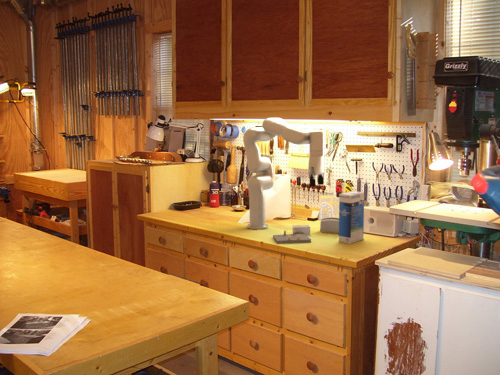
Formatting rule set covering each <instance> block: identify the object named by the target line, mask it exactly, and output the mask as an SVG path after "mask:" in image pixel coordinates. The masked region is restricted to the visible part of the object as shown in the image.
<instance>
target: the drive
mask: <svg viewBox="0 0 500 375" xmlns="http://www.w3.org/2000/svg"><path fill="white" fill-rule="evenodd" d="M293 230H295V234H306V235H307V236H311V226H310V225H309V224H296V225H295V224H294V225H292V231H293Z"/></svg>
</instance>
